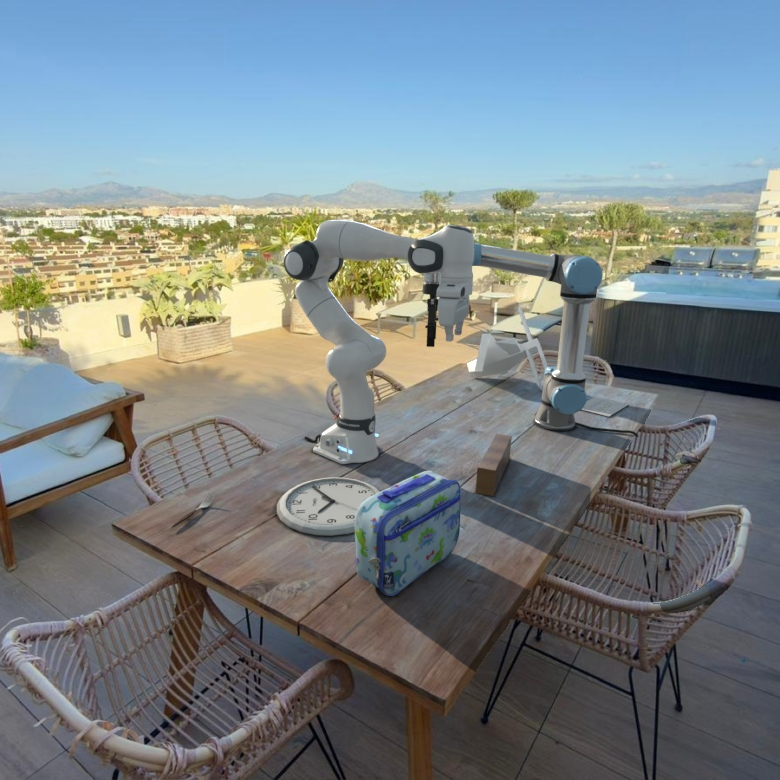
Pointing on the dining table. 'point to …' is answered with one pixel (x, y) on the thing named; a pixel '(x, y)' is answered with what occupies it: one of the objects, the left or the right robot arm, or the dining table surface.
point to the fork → (203, 505)
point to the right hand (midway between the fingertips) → (431, 342)
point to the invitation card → (603, 406)
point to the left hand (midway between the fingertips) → (453, 337)
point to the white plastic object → (505, 354)
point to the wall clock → (324, 505)
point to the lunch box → (406, 530)
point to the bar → (493, 465)
